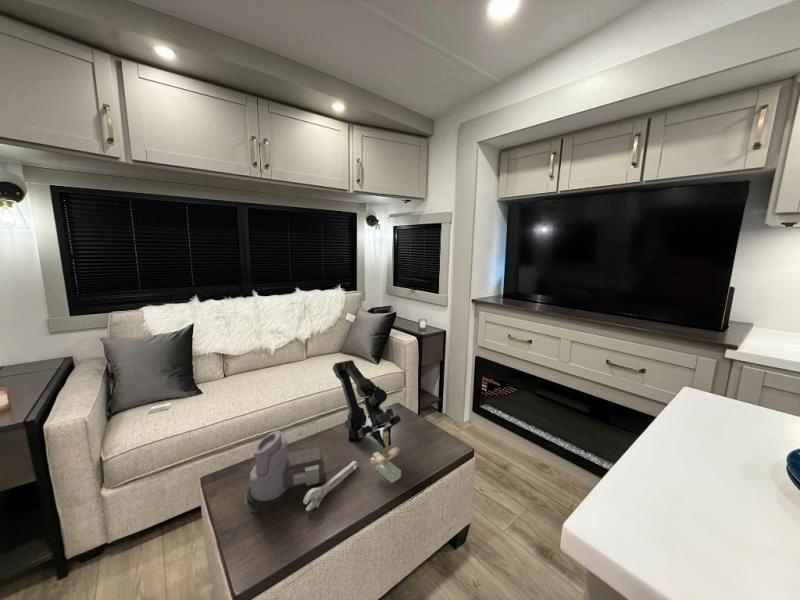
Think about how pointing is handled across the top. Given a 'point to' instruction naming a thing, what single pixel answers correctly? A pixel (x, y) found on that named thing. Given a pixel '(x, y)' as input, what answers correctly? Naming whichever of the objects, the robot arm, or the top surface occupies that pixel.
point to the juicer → (282, 474)
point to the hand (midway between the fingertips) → (387, 446)
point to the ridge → (387, 469)
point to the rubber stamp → (385, 452)
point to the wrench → (327, 487)
